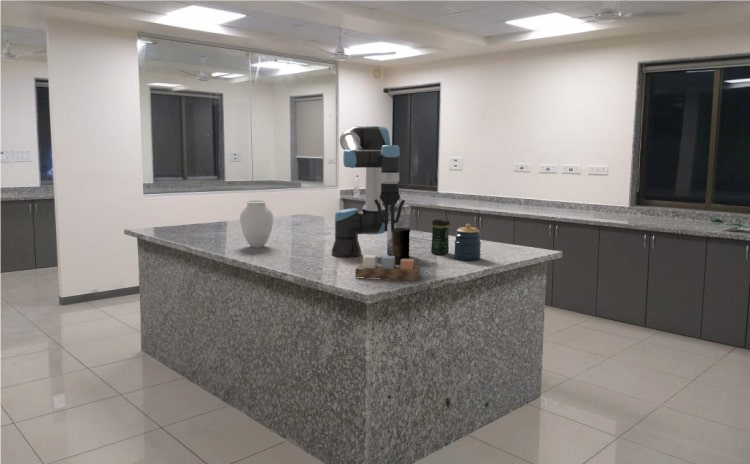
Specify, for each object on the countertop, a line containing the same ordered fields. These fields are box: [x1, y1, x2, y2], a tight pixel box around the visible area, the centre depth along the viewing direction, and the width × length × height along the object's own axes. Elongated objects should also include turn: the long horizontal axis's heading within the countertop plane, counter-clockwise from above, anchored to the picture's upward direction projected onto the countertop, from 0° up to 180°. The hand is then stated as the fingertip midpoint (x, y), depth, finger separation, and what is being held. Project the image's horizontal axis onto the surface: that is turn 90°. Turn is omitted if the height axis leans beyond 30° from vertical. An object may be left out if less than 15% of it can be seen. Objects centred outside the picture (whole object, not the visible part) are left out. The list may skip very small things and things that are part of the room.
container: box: [392, 228, 411, 265], centre depth 260 cm, size 9×9×18 cm
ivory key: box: [362, 254, 377, 268], centre depth 244 cm, size 5×5×6 cm
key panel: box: [355, 263, 421, 282], centre depth 243 cm, size 26×11×4 cm, turn 81°
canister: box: [453, 223, 482, 262], centre depth 284 cm, size 13×13×18 cm
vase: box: [239, 200, 274, 248], centre depth 314 cm, size 18×18×25 cm
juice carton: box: [386, 201, 412, 256], centre depth 290 cm, size 9×10×27 cm
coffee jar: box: [430, 217, 450, 255], centre depth 298 cm, size 10×8×19 cm
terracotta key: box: [400, 258, 415, 270], centre depth 241 cm, size 5×5×6 cm
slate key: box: [381, 255, 395, 269], centre depth 242 cm, size 5×5×6 cm
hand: (389, 239), depth 241 cm, fingers closed
